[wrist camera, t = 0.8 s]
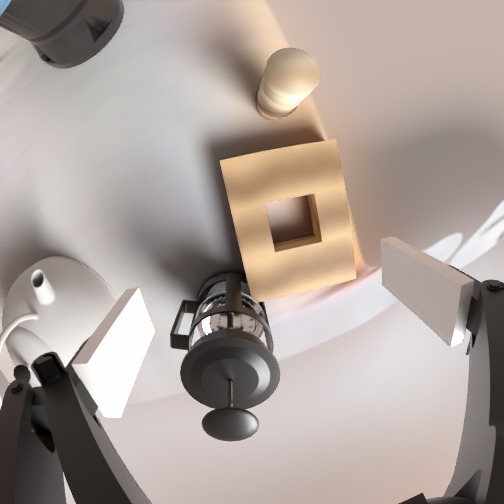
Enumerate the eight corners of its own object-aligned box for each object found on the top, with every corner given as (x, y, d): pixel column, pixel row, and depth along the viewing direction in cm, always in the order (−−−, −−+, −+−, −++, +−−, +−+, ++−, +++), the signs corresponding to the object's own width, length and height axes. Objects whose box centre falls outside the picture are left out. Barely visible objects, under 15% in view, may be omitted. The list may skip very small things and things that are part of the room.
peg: (249, 92, 33) (258, 49, 19) (286, 86, 33) (313, 44, 19) (257, 126, 34) (271, 100, 21) (294, 120, 34) (328, 93, 21)
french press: (272, 272, 39) (316, 385, 17) (264, 331, 42) (289, 460, 19) (186, 264, 38) (136, 373, 16) (185, 325, 41) (151, 452, 18)
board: (221, 161, 35) (219, 160, 31) (325, 142, 35) (336, 139, 31) (251, 291, 40) (252, 303, 36) (345, 268, 40) (356, 278, 36)
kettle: (28, 223, 35) (-75, 265, 14) (145, 273, 39) (71, 372, 17) (25, 341, 41) (-36, 408, 19) (121, 390, 44) (83, 485, 23)
